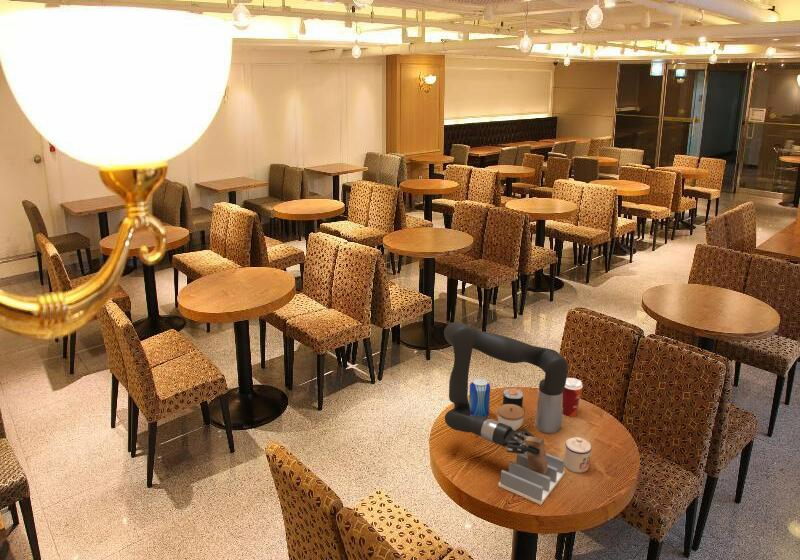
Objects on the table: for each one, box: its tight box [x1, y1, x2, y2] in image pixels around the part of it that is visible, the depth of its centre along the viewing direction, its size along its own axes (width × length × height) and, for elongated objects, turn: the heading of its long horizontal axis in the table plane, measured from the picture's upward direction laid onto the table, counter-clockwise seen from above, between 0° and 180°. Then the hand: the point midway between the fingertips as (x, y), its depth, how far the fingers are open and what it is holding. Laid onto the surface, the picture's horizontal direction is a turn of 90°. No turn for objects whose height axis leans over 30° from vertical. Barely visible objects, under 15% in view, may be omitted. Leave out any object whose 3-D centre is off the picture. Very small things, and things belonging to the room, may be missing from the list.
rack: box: [498, 452, 566, 506], centre depth 207 cm, size 16×20×6 cm
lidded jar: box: [496, 404, 525, 431], centre depth 238 cm, size 11×11×9 cm
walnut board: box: [524, 436, 548, 474], centre depth 204 cm, size 6×3×12 cm, turn 52°
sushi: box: [502, 388, 524, 409], centre depth 252 cm, size 8×8×8 cm
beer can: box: [468, 377, 491, 418], centre depth 245 cm, size 8×8×16 cm
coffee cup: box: [561, 377, 583, 418], centre depth 246 cm, size 8×8×15 cm
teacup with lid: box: [563, 436, 592, 474], centre depth 215 cm, size 12×9×12 cm
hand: (541, 449), depth 202 cm, fingers closed on walnut board, 2 cm apart
